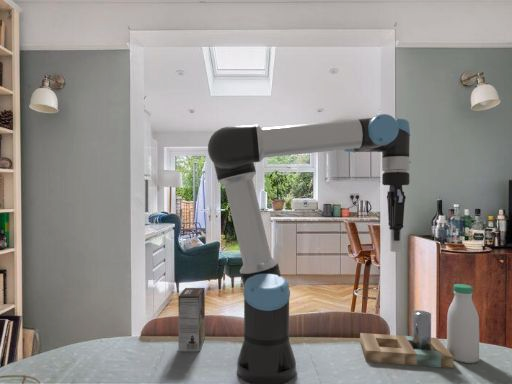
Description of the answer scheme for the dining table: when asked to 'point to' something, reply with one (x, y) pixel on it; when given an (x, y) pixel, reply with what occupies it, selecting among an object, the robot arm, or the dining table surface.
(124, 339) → the dining table surface
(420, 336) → the bushing
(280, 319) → the robot arm
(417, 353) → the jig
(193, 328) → the coffee box
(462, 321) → the milk bottle
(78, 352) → the dining table surface
